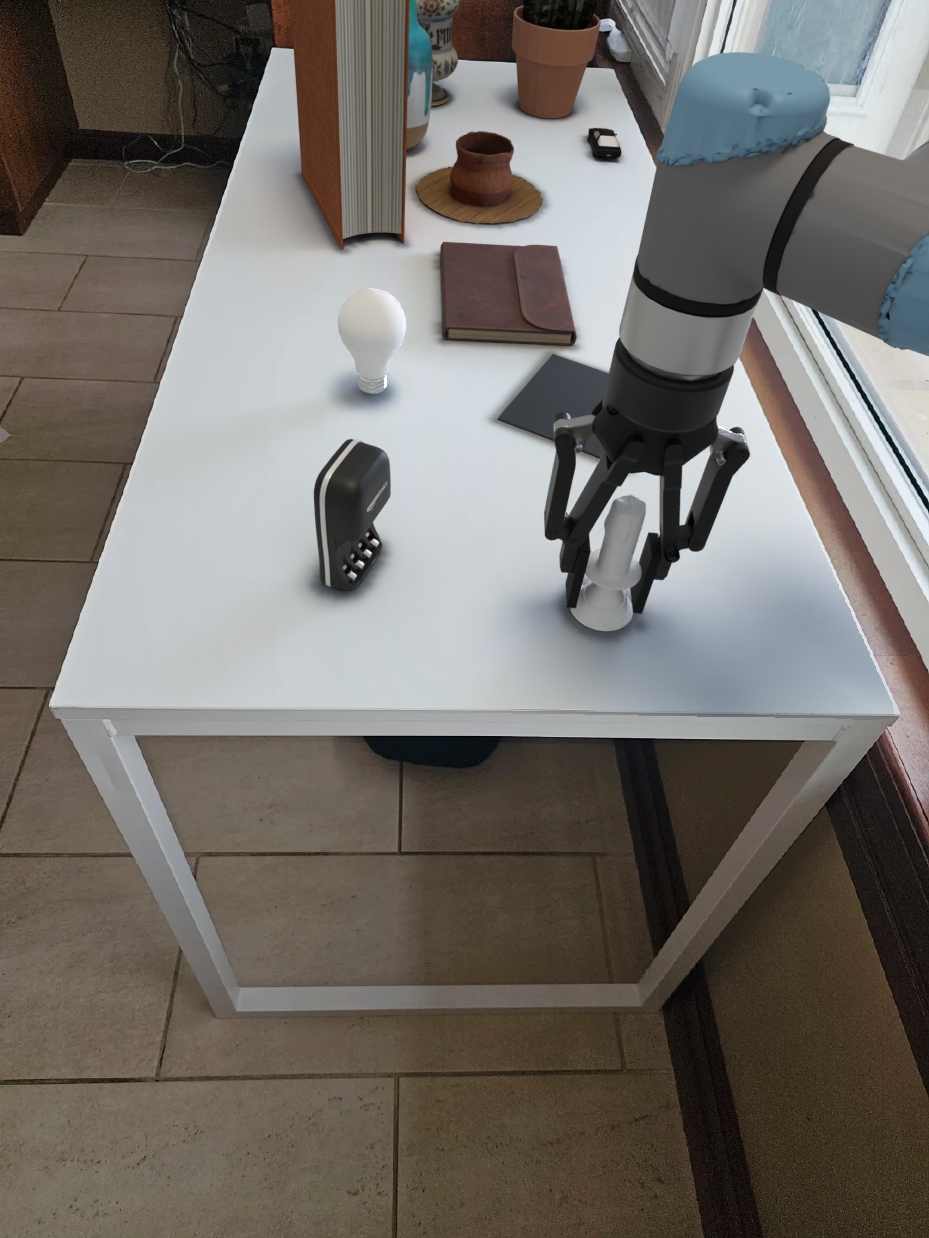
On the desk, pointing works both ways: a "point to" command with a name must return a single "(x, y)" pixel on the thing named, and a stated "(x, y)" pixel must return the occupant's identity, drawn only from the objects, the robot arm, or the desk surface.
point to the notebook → (505, 294)
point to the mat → (558, 398)
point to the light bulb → (372, 334)
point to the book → (353, 110)
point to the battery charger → (350, 512)
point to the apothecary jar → (439, 40)
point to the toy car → (604, 142)
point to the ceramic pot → (480, 183)
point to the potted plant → (553, 53)
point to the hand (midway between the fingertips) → (603, 597)
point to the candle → (612, 569)
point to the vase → (418, 80)
